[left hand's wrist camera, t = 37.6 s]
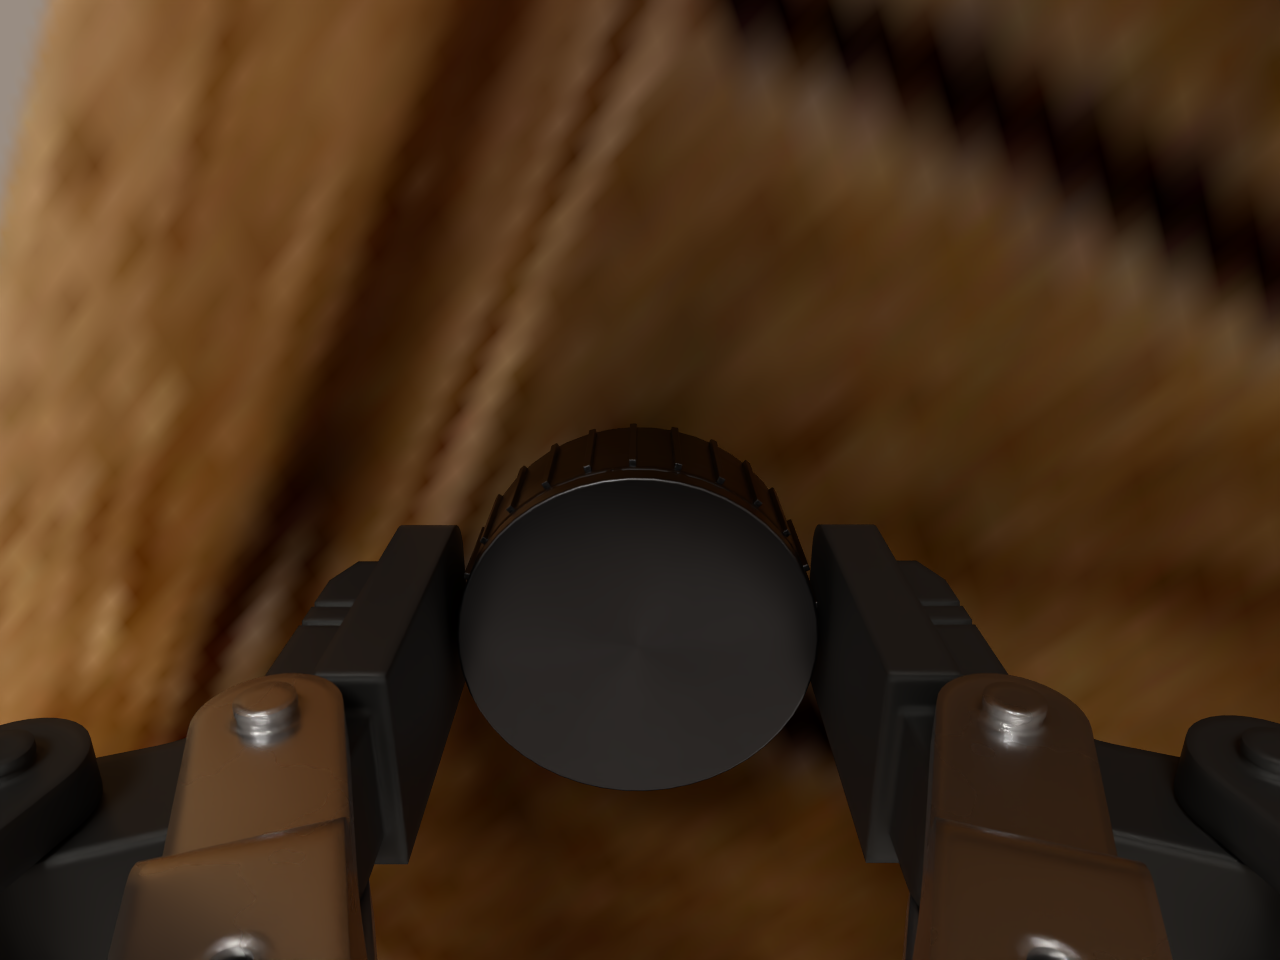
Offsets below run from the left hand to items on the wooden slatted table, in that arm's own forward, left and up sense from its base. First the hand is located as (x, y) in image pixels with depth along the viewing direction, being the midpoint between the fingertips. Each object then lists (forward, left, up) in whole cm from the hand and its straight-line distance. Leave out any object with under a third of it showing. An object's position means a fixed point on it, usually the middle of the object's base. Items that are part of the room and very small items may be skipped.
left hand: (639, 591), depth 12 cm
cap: (0, 0, +1) cm, 1 cm away
